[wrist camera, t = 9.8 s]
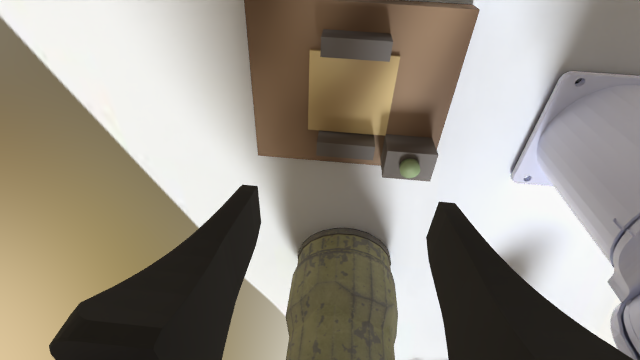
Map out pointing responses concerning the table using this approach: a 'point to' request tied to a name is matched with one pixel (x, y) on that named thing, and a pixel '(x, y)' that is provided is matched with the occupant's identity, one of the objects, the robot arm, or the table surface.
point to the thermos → (342, 299)
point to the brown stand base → (356, 79)
